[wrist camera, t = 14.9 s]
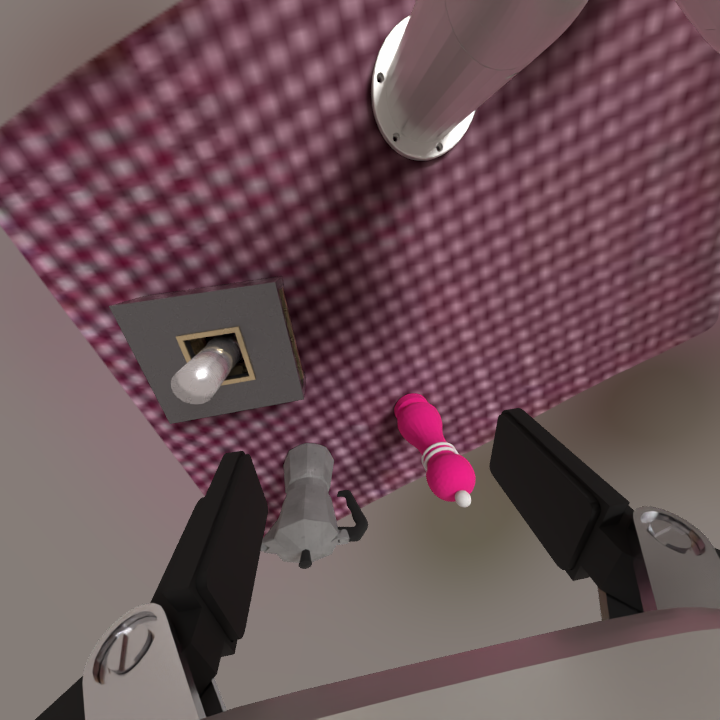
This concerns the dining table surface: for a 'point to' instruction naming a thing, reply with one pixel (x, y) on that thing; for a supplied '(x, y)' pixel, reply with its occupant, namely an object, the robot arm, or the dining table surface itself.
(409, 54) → the robot arm
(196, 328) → the grey square socket block
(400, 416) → the pepper mill
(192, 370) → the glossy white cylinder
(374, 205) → the dining table surface
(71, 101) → the dining table surface
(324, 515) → the coffeepot
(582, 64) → the dining table surface
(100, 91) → the dining table surface
